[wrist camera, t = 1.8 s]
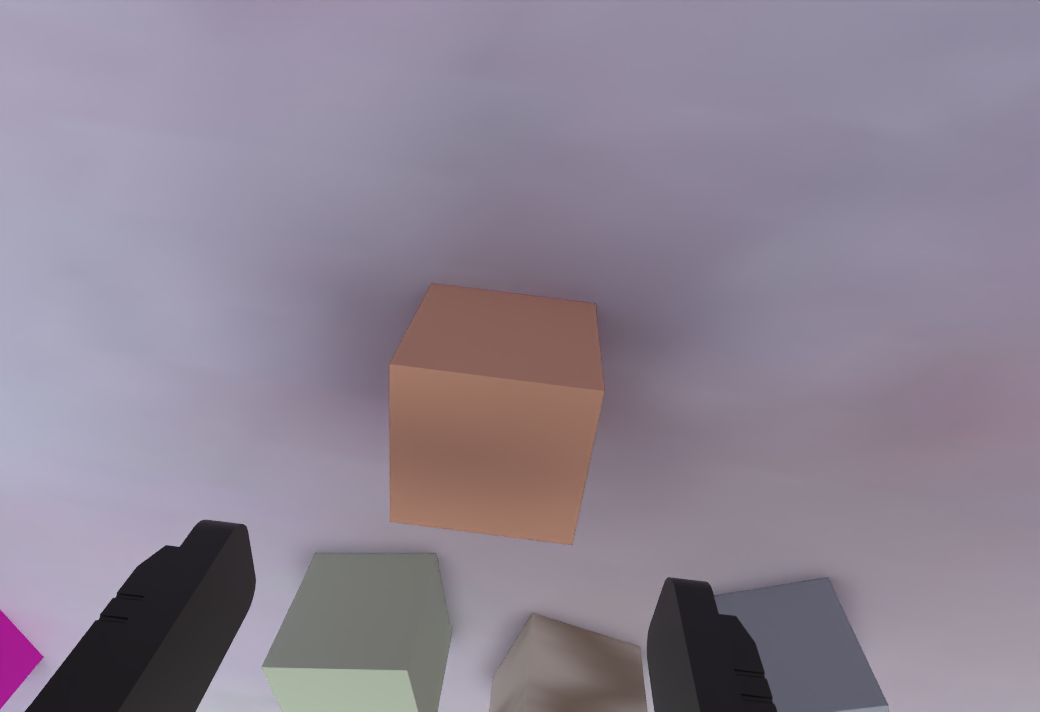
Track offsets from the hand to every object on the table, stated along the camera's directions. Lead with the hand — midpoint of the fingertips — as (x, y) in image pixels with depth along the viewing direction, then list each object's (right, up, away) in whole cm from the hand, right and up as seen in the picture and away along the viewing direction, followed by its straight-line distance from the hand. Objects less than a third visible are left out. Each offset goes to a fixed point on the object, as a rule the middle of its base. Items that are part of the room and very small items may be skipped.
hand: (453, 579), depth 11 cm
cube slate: (+12, -7, +13) cm, 19 cm away
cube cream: (+3, -9, +15) cm, 18 cm away
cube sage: (-4, -6, +14) cm, 16 cm away
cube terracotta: (+1, +4, +8) cm, 9 cm away
